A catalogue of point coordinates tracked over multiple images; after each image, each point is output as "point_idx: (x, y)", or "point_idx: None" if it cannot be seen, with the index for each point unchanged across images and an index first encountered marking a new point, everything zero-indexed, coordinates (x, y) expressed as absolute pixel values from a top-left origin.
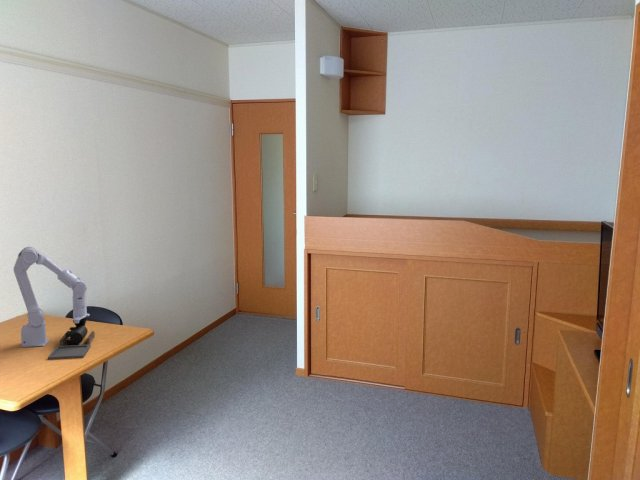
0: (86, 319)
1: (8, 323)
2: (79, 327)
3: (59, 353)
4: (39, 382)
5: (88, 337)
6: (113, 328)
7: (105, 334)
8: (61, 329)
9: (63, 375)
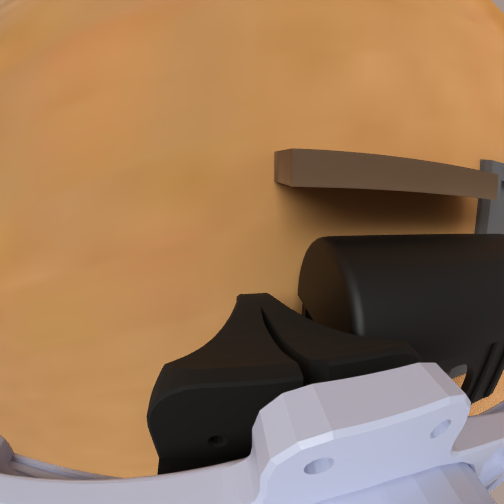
0: (334, 363)
1: None
2: (457, 343)
3: None
4: None
5: (476, 188)
6: (19, 52)
7: (184, 58)
8: (71, 446)
9: None
